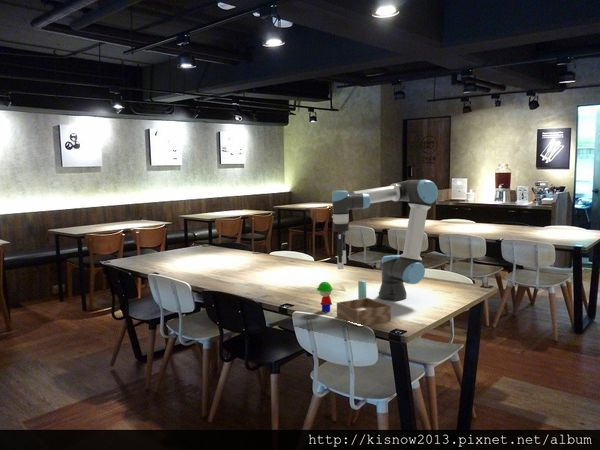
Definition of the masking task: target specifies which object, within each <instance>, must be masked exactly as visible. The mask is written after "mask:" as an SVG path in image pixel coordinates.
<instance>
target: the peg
mask: <svg viewBox="0 0 600 450" xmlns="http://www.w3.org/2000/svg"><path fill="white" fill-rule="evenodd" d="M357 283H358V284H357V287H358V288H357V289H358V290H357V291H358V298H357V299H362V298H367V280H363V279H362V280H361V279H360V280H357Z"/></svg>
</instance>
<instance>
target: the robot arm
mask: <svg viewBox="0 0 600 450" xmlns="http://www.w3.org/2000/svg"><path fill="white" fill-rule="evenodd" d="M331 193H332V194H331V195H332V196H331V197H332V198H331V203H332V215H331V218H332V222H333V224H332V230H333V231H334V232H337V234H336V253H335V256H336V257H337V262H336V263H337V270H344V264H345V265H346V264H347V251H348V248H347V244H346V238H347V236H346V232H349V230H350V225H349V223H348V222H349V221H350V219H349V218H350V217H349V216H350V214H349V211H350V210H365V209H368V208H369V207H370V206H371V204H374V203H375V204H376V203H382V202H387V201H393V202H400V201H401V202H408V206H409V207H410V210H409V215H408V222H407V228H406V235H405V238H404V239H405V240H404V247H403V253H401V254H394V255H393V254H392V255H384V256H383V257H382V258H381V285H380V288H379V290H378V298H380V299H382V300H386V301H399V300H402V301H403V300H404V299H406V298H407V295H408V294H407V291H406V288H405V284H410V285H416V284H419V283H420V282H421V281H422V280H423V279H424V276H425V274H426V269H425V266H424V264H423V258H422V257H421V251H422V245H423V240H424V239H423V238H424V234H425V228H426V227H425V226H426V223H427V222H426V221H427V216H428V210H430V209H431V208H432V205H433V204H434V203H435V201H436V200H438V197H439V189H438V187H437V185H436V184H435V182H433V181H431V180H428V179H409V180H404V181H401V182H395V183H391V184H390V185H388V186H381V187H373V188H368V189H360V190H354V191H348V190H333V191H332V192H331ZM404 283H405V284H404Z"/></svg>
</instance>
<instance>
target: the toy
mask: <svg viewBox="0 0 600 450" xmlns="http://www.w3.org/2000/svg"><path fill="white" fill-rule="evenodd" d="M333 290H334V289H333V287H332V285H331V284H330V283H329V282H328V281H322V282H320V283H319V285H318V287H316V291H319V294H320V296H322V298H321V302H320V305H321V312H325V313H331V305H333V303H332V299H331V296H330V295H331V293H332V291H333Z"/></svg>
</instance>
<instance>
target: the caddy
mask: <svg viewBox="0 0 600 450" xmlns="http://www.w3.org/2000/svg"><path fill="white" fill-rule="evenodd" d="M391 310H392V309H391V305H389V304H386V303H384V302H380V301H378V300H376V299H373V298H370V297H366V298H362V299H358V298H356V299H351V300H346V301H345V300H344V301H339V302H336V318H338V319H340V320H342V319H343V320H342V321H344V320H346V321H350V322H353V323H357V324H361V325H365V326H370V325H375V324H380V323H386V322H391V321H392V320H391V319H392V317H391V315H392V314H391V312H392V311H391ZM346 321H345V322H346ZM365 326H364V327H365Z"/></svg>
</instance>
